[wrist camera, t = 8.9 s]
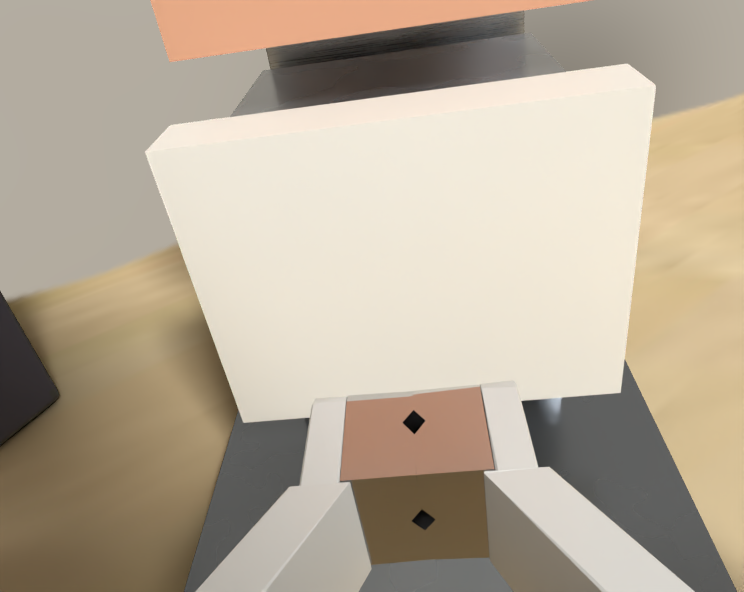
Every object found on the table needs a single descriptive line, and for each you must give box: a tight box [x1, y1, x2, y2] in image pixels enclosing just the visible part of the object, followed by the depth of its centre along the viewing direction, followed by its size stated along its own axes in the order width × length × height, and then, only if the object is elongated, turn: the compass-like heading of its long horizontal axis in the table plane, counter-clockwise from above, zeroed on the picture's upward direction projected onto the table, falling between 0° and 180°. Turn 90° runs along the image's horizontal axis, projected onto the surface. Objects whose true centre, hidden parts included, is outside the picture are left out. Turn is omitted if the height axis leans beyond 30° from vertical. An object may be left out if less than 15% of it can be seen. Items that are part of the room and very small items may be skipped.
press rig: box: [184, 10, 737, 592], centre depth 15 cm, size 12×17×18 cm
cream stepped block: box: [145, 64, 656, 423], centre depth 16 cm, size 9×8×7 cm
